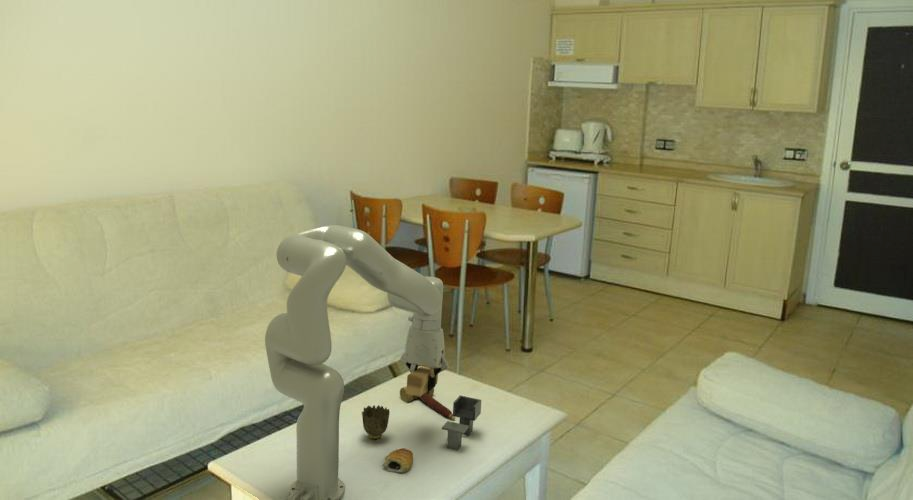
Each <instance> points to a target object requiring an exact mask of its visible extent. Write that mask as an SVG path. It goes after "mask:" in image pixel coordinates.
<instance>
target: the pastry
mask: <svg viewBox="0 0 913 500" xmlns="http://www.w3.org/2000/svg"><path fill="white" fill-rule="evenodd" d="M413 455H414V454H413V452H412V450H410V449H407V448H403V447H401V448H397V449H395V450H392V451H391V452H389V454H387V455H386V457H384V462H383V464H382V468H383V469H384V470H385V471H387V472H392V473H395V472H396V473H399V474H401V473H406V472H408V471H409V470H410V469H411V468H412V465H413V462H414V456H413Z"/></svg>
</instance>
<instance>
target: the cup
mask: <svg viewBox="0 0 913 500" xmlns="http://www.w3.org/2000/svg"><path fill="white" fill-rule="evenodd" d="M390 414H391V413H390V408H388V407H387V406H385V407H384V406H383V405H381V406H380V405H379V404H378V405H377V406H376V405H375V404H374V405H372V406H371V405H368V406H366V407H363V411H362V412H361V415H362V417H361V418H362V424H363V430H364V432H366V433H367V434H368V439H370V440H371V441H379V440H380V439H382V437H383V434H384V433H385V432H386V431H387V429H388V425H389V419H390Z"/></svg>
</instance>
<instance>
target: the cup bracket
mask: <svg viewBox="0 0 913 500" xmlns="http://www.w3.org/2000/svg"><path fill="white" fill-rule="evenodd" d="M452 405H453V406H452V407H453V408H452V414H453V416H454V417H455V418H459V421H458V423H459V424H463V425H468V429H467V430H466V431H465V432H464V434H462V436H467V437H470V435H472V433H473V431H474V422H475V421H476V420H477V418H478V417H479V416H480V415H481V413H482V399H478V398H476V397H475V398H473V397H470V396H466V395H458V397H457V398H456V399H455V400H454V401H453V404H452Z"/></svg>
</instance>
